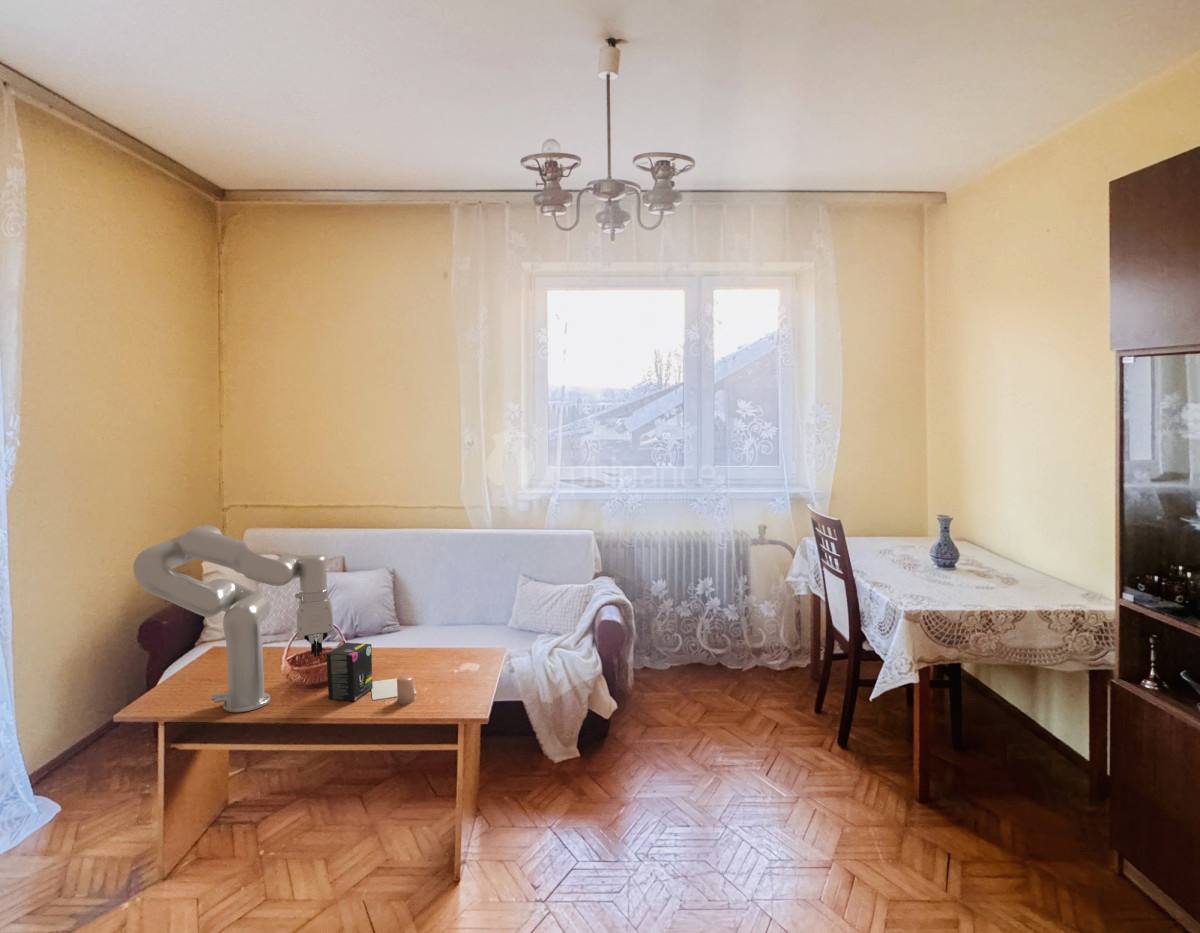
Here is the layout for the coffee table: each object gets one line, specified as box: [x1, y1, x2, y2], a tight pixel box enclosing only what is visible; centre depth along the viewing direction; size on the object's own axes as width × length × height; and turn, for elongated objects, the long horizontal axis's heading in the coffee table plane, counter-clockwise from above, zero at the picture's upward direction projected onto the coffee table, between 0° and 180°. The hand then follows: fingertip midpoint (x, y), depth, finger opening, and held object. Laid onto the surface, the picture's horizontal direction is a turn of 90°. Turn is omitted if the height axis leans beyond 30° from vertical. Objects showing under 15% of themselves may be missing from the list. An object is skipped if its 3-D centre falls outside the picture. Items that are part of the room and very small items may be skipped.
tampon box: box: [326, 642, 373, 702], centre depth 205 cm, size 11×9×15 cm
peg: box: [396, 675, 415, 705], centre depth 201 cm, size 5×5×7 cm
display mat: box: [370, 677, 417, 701], centre depth 210 cm, size 13×15×1 cm
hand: (317, 654), depth 201 cm, fingers closed
